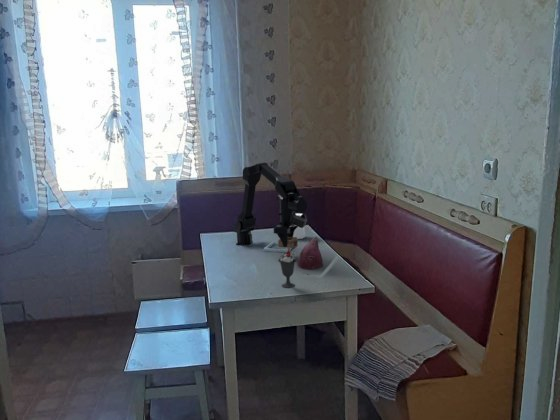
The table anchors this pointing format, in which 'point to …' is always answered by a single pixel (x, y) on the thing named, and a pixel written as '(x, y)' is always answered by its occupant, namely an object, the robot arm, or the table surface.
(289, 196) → the robot arm
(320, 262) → the vegetable
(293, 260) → the sundae
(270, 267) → the table surface
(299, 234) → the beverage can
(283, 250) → the tray
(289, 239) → the ring
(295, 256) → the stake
